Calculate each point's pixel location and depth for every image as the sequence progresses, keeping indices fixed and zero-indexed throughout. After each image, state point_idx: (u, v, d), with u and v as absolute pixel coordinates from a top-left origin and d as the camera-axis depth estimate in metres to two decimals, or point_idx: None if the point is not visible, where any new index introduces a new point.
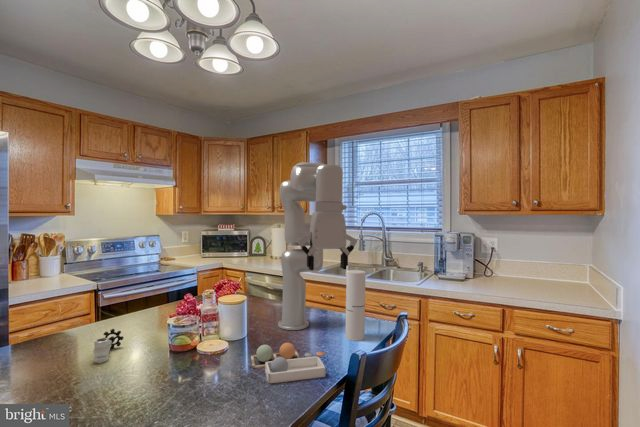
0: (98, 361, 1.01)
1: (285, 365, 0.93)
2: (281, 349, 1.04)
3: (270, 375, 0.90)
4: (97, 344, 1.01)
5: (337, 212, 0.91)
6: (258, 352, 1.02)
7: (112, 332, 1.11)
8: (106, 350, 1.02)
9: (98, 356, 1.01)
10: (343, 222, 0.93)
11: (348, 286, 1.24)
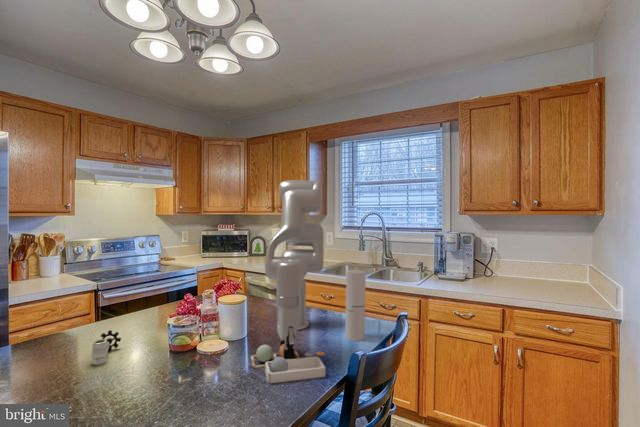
0: (96, 363, 0.99)
1: (285, 365, 0.93)
2: (281, 349, 1.04)
3: (270, 375, 0.90)
4: (95, 346, 0.99)
5: None
6: (258, 352, 1.02)
7: (109, 333, 1.10)
8: (104, 352, 1.00)
9: (96, 358, 0.99)
10: None
11: (348, 286, 1.24)
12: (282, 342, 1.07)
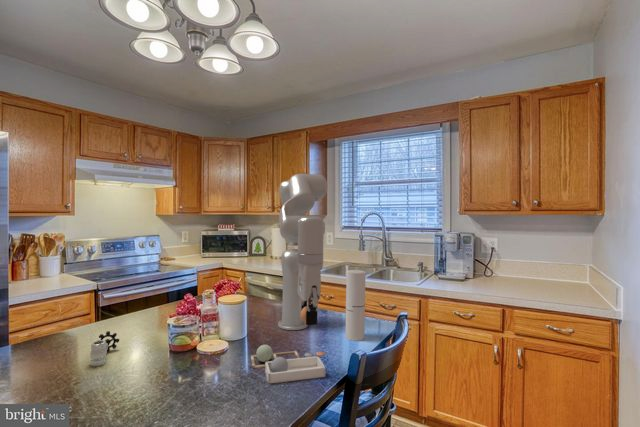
0: (95, 364, 0.99)
1: (285, 365, 0.93)
2: (303, 312, 0.95)
3: (270, 375, 0.90)
4: (94, 347, 0.99)
5: None
6: (258, 352, 1.02)
7: (108, 334, 1.09)
8: (103, 353, 1.00)
9: (95, 359, 0.99)
10: None
11: (348, 286, 1.24)
12: (303, 306, 0.99)
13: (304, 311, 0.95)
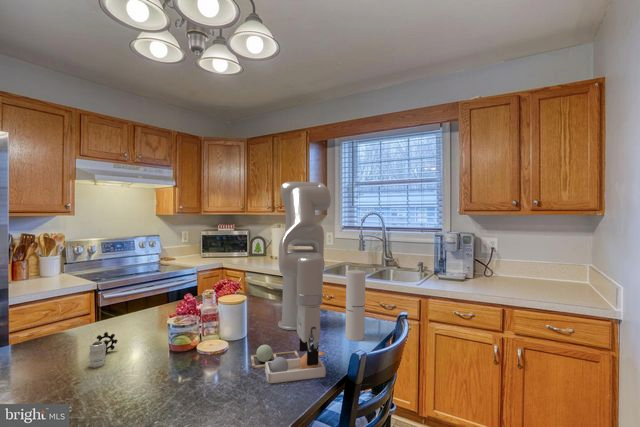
0: (94, 365, 0.98)
1: (285, 365, 0.93)
2: (302, 361, 0.95)
3: (270, 375, 0.90)
4: (93, 348, 0.98)
5: None
6: (258, 352, 1.02)
7: (106, 335, 1.08)
8: (102, 354, 0.99)
9: (94, 360, 0.98)
10: None
11: (348, 286, 1.24)
12: None
13: (303, 361, 0.95)
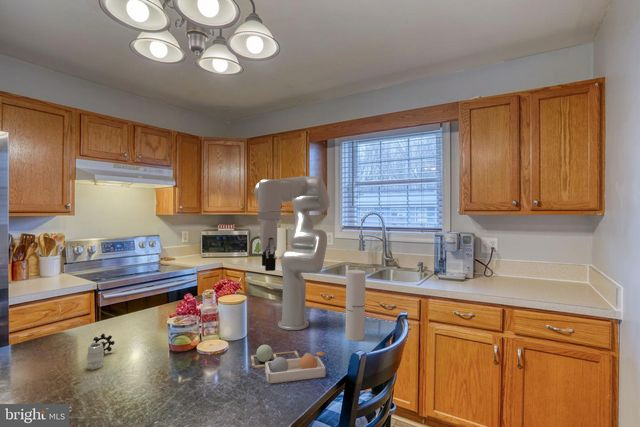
0: (92, 367, 0.97)
1: (285, 365, 0.93)
2: (302, 362, 0.95)
3: (270, 375, 0.90)
4: (91, 350, 0.97)
5: None
6: (258, 352, 1.02)
7: (102, 337, 1.07)
8: (101, 356, 0.98)
9: (92, 362, 0.97)
10: None
11: (348, 286, 1.24)
12: (263, 254, 1.14)
13: (303, 361, 0.95)
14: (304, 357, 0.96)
